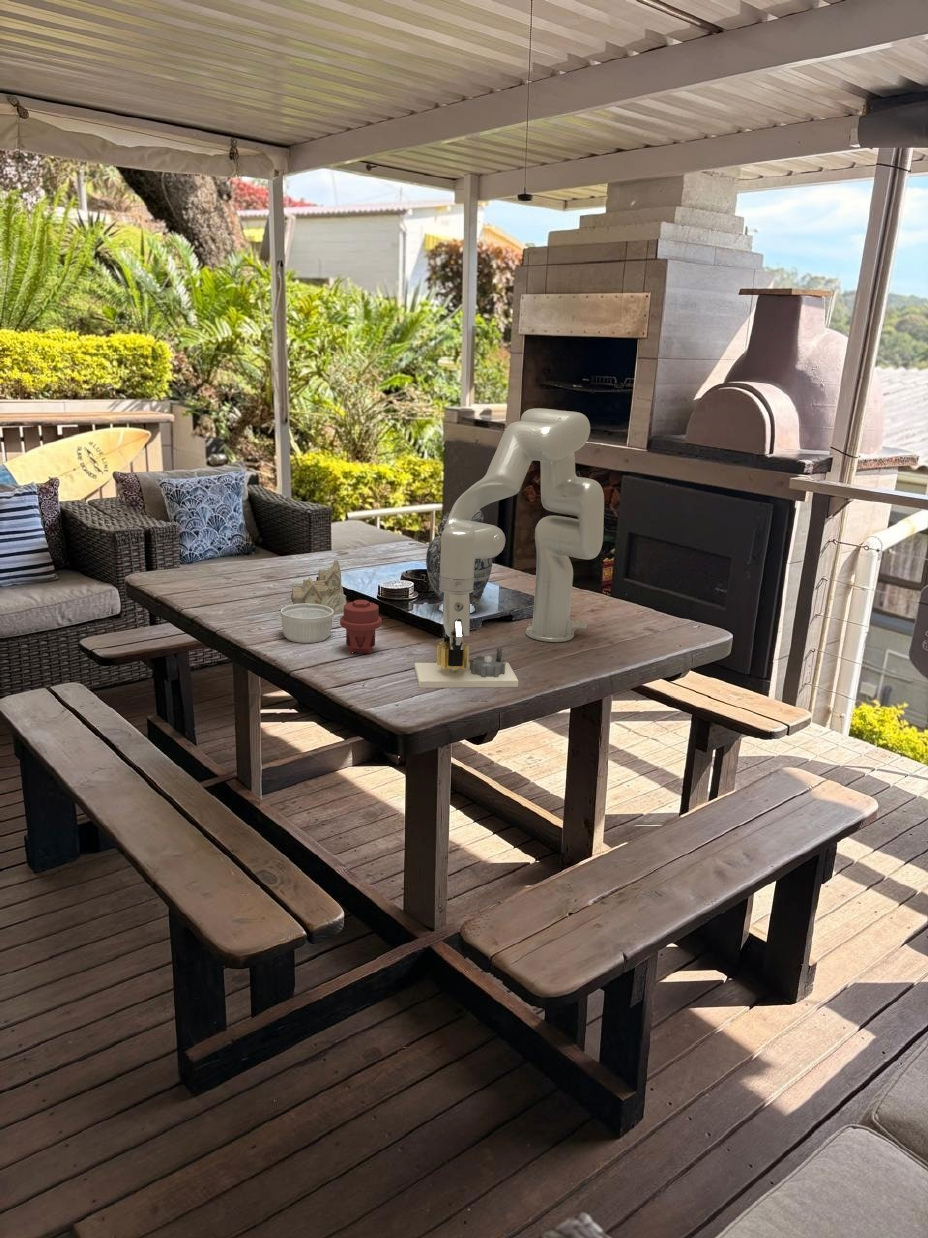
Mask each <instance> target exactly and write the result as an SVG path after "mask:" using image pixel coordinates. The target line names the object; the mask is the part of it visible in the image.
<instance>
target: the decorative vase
mask: <svg viewBox="0 0 928 1238" xmlns="http://www.w3.org/2000/svg"><path fill="white" fill-rule="evenodd" d="M450 512H451V510H449V511H446V514H445V515H443V517H442V520H440V521H439V522H438V526H437V533H438V536H435V537H434V538H433V539H432V540H431V541H430V543H429V545H428V547H427V551H426V555H425V558H426V559H425V561H426V562H425V564H426V566H425V567H426V572H427V577H428V580H429V583H430V586H431V588H432V590H433V592H434V593H435V595H436V596H437V597H438V598H439V600H441V601H442V603H443V602H444V592H442V591H440V590H439V582H440V558H441V537H442V532H443V530H444V527H445V524H446V522H447V519H448V517H449V514H450ZM470 521H475V522H480V523H484V514H483V512H482V510H481V509H479V510H478V511H477V512H476V513H475V514H474V516H473V517H472V519H471V520H470ZM492 567H493V558H487V559H475V566H474V585H473V592H472V593H469V600H470V604H472V605H475V604H476V603H479V602H480V601H481V599H482V596H483V594H484V590H485V588H486V586H487V584H488V583H489V579H490V577H491V573H492V569H493V568H492Z"/></svg>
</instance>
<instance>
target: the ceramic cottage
mask: <svg viewBox="0 0 928 1238" xmlns="http://www.w3.org/2000/svg"><path fill="white" fill-rule="evenodd" d="M317 574H318V575H317V580H313V579H312V578H311V577H310V576H309V577H308V578H306V579H303V580H302V584H301V585H300V584H293V585H292V588H291V590H292V591H291V594H290V600H291V602H292V605H293V604H305V603H308V604H320V605H324V606H328V607H330V608H332V609H333V611H334V615H340V614H344V605H345V604H347V603H348V602H347V595H345V594H344V589H343V585H342V582H343V581H342V572H341V567H340V562H339V559H333V563H332V565H331V566H330V567H329V568H328V569H318V573H317Z"/></svg>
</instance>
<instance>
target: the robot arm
mask: <svg viewBox="0 0 928 1238" xmlns="http://www.w3.org/2000/svg"><path fill="white" fill-rule="evenodd" d="M590 434H591V424H590V421H589V419H588V417H587V416H586V414H583V413H581V412H577V411H569V410H568V411H567V410H560V409H559V410H558V409H551V408H550V409H549V408H541V407H540V408H538V407H537V408H536V407H535V408H529V409H527V410H526V411H524V412H523V413H522V415H521V417H520V420H519V421H515V422H512V423H509V424H508V425H507V427H505V430H504V431H503V434H502V436H501V437H500V441H499V443H498V445H497V448H496V450H495V453H494V455H493V457H492V460H491V462H490V464H489V466H488V468H487V471H486V474H484V476H483V477H482V478H481V479H479V480H477V482H475V483H474V484H472V485H471V486H470V487H469V488H468V489H466V490H465V491H464V492H463V493H461V495H460V496H459V497H458V498H457V500H456V501H455V502H454V504H453V505H452V507H451V510H450V511H451V512H450V514H449V517H448V519H447V522H446V524H445V527H444V530H443V532H442V537H441V558H440V582H439V590H440V591H442V592H444V602H443V601H442V603H443V612H442V625H443V627H444V628H443V629H444V636H445V637H443V639H444V641H443V642H449V641H450V648H449V652H448V666H462V665H463V642H464V637H466V638H468V637H469V636H470V619H471V617H470V600H469V593H472V592H473V585H474V566H475V559H487V558H492V559H494V558H495V557H497V556H499V554H500V553H502V551H503V550H504V548H505V546H506V545H505V544H506V536H505V533H504V532H503V530H502V529H501V528H499V527H498V526H497V525H495V524H494V525H493V524H488V523H484V522H483V523H480V522H475V521H470V520H471V519H472V517H473V516H474V514H475V513H476V512H477V511H478V510H481V509H482V508H484V507H485V506H488V505H490V504H491V503H494V502H498V501H501V500H504V499H507V498H511V497H513V496H515V495H517V494H519V492H520V491H521V489H522V486H523V483H524V480H525V478H526V475H527V473H528V472H529V468H530V466H531V464H532V462H534V461H539V462H540V501H541V504H542V507H543V508H544V509H545V510H546V511H548V512H552V513H556V514H557V513H558V514H561V515H567V516H568V515H569V516H573V517H577V518H572V517H567V516H561V515H547V516H545V517H544V516H543V517H542V518H541V519H540V520H538V523H536V525H535V530H534V540H535V541H534V542H535V550H536V571H535V573H536V574H535V583H534V585H535V586H534V599H533V610H532V611H533V614H532V625H529V626H527V627H526V630H525V634H526V635H527V637H529V638H531V639H534V640H537V641H541V642H547V643H548V642H549V643H562V642H563V643H564V642H567V641H571V640H572V639H574V638H575V637H574V636H575V631H576V630H579V631H586V630H587V629H588V624H587V622H580V621H581V620H572V619H571V618H570V614H571V605H572V602H571V601H572V593H573V591H572V590H573V581H574V568H573V565H572V562H571V559H570V557H571V558H576V559H582V560H593V559H595V558H596V557H598V555H599V554H600V552H601V551H602V546H603V542H604V526H605V525H604V523H605V522H604V521H605V520H604V518H605V517H604V516H605V494H604V491H603V487H602V486H601V483H599V482H598V481H597V480H595V479H592V478H588V477H582V476H581V477H580V476H577V474H576V455H575V452H578V451H579V450H580V449H581V448H583V447H584V446H585V444H586V443H587V441H588V439H589V438H590Z"/></svg>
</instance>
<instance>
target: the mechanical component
mask: <svg viewBox="0 0 928 1238" xmlns="http://www.w3.org/2000/svg"><path fill="white" fill-rule="evenodd" d="M379 611H380V610H379V605H378V604H376V603H374V602H370V601H369V600H367V599H356V600H353V601H351V602H347V604H345V605H344V612H343V615H342V616H340V618H339V625H340V626H341V627H342V628H343V629H345V631H346V633H345V637H346V638H345V644H346V646H347V652H348V653H349V652H350V653H349V654H355V653H354V652H364V653H363V654H368V653H370V654H373V651H374V647H375V645H376V630H377V629H379V628H381V627H382V625H383V620H382V617H381V616H379ZM352 652H353V653H352Z"/></svg>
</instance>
